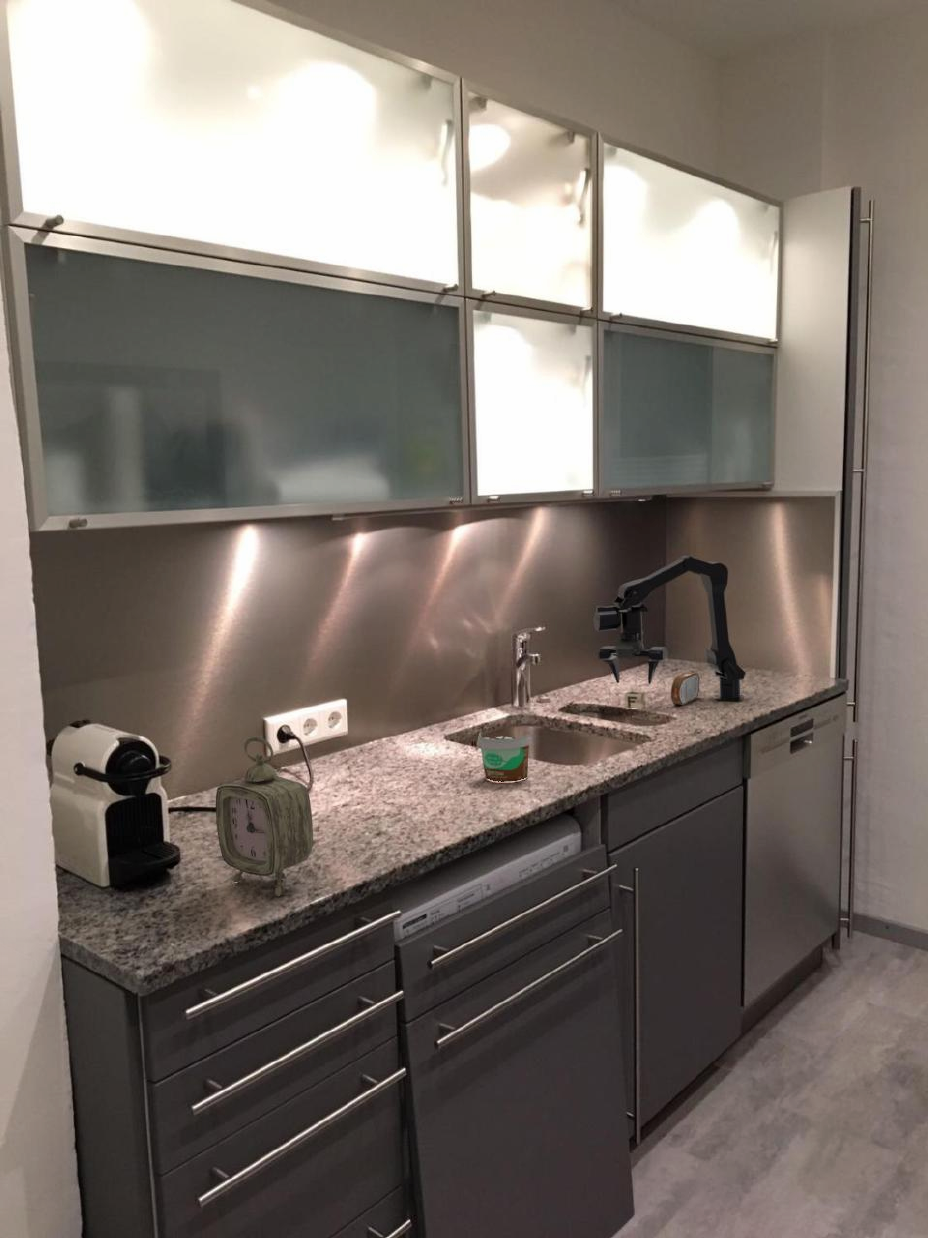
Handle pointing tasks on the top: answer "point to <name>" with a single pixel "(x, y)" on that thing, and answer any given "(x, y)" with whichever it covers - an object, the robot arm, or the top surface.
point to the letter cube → (635, 699)
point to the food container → (505, 757)
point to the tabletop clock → (264, 821)
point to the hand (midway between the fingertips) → (633, 683)
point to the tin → (685, 688)
